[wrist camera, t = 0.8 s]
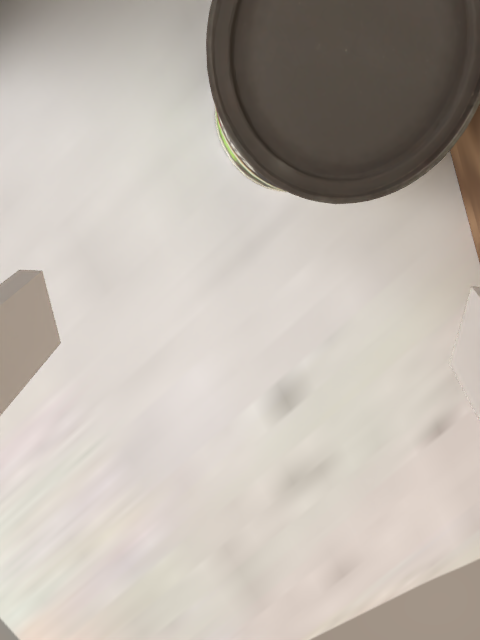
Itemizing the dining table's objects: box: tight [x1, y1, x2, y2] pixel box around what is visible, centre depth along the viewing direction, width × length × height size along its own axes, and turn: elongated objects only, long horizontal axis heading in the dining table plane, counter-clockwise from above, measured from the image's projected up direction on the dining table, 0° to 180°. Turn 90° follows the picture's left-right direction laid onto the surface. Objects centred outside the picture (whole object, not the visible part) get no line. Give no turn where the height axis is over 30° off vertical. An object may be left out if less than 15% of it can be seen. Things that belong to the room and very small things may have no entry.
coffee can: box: [206, 0, 480, 204], centre depth 22 cm, size 10×10×14 cm
